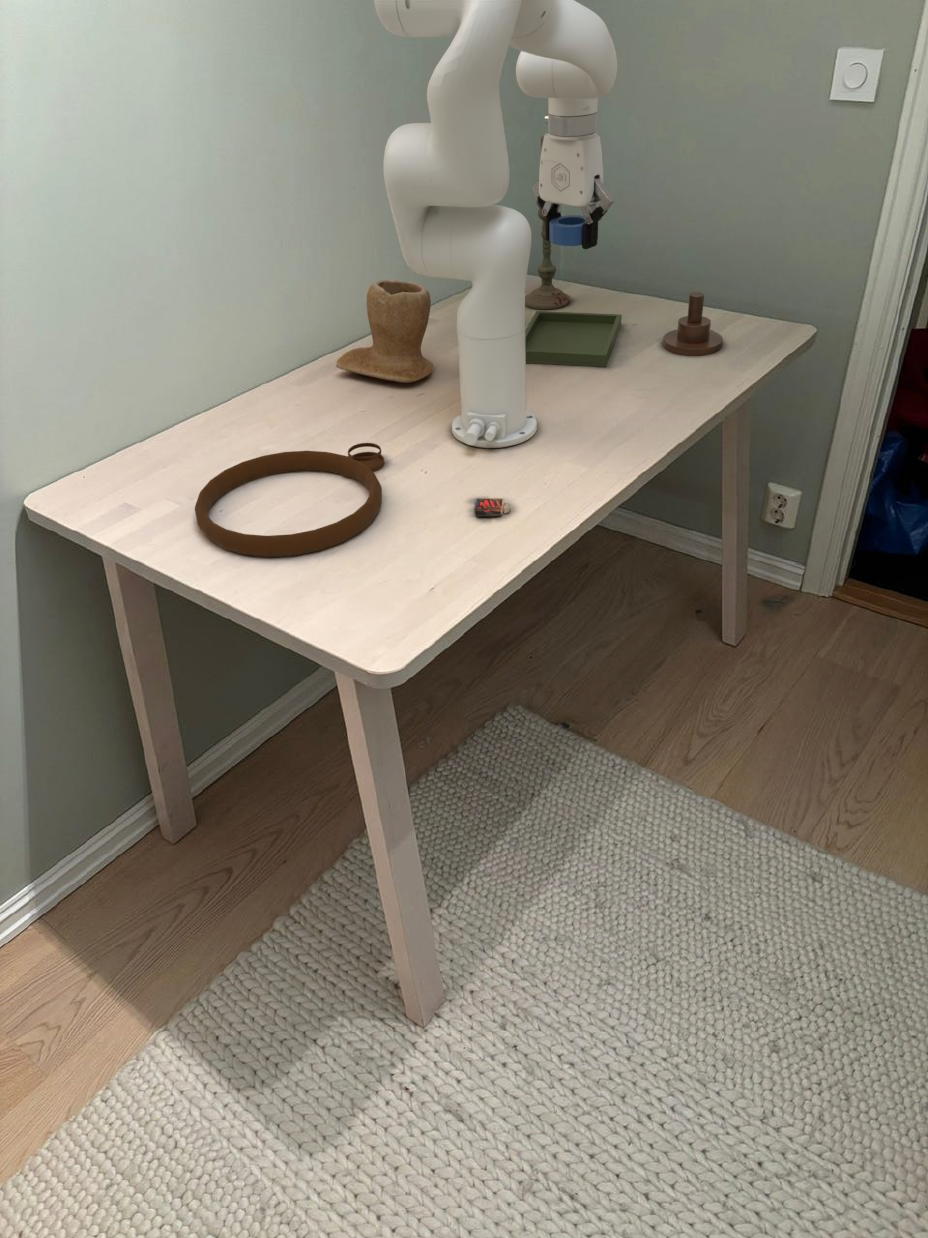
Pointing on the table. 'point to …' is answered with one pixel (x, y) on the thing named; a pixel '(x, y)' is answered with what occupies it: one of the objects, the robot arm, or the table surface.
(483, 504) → the matchbox
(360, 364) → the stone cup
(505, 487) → the table surface
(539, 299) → the candlestick holder
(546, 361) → the tray
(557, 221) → the ring
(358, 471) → the decorative ring
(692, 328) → the stand
